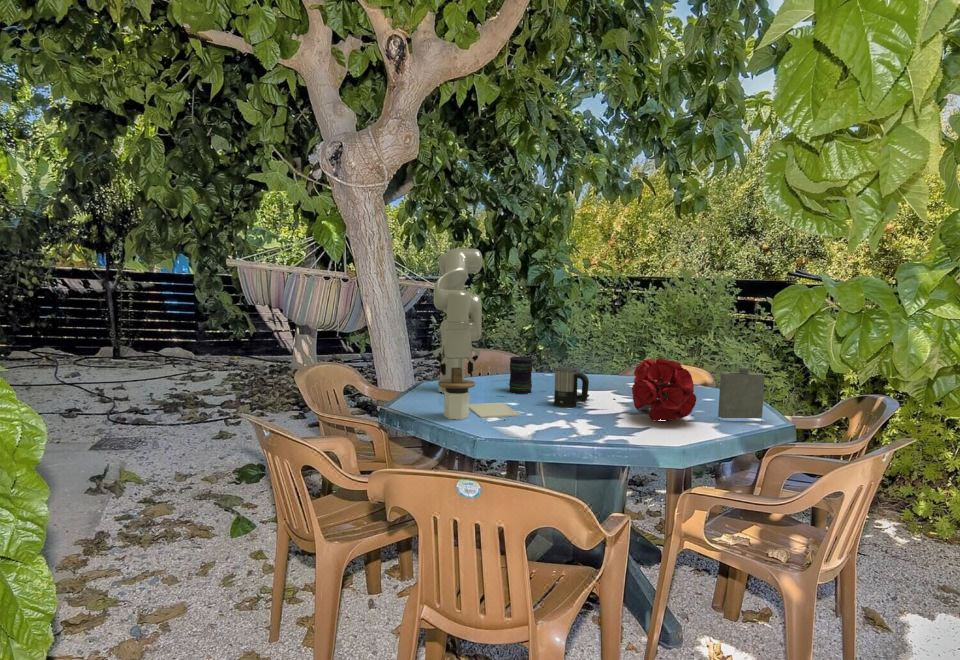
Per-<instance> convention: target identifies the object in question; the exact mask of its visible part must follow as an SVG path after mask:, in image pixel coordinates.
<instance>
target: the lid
mask: <svg viewBox="0 0 960 660" xmlns="http://www.w3.org/2000/svg"><path fill="white" fill-rule="evenodd" d="M437 383H438V384H437V385H438V386H439V388H440V387H443V388H451V389H465V388H468V389H470V388H474V387H475V386H476V383H475V381H473V380H469V379H465V378H464V379H462V369H461V368H451V379H446V380H442V379H441V380H439V381H438V382H437Z"/></svg>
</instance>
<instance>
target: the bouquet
mask: <svg viewBox="0 0 960 660" xmlns="http://www.w3.org/2000/svg"><path fill="white" fill-rule="evenodd" d="M633 374H634V378H633V384H632V387H631V393H632V400H633V406H634V408H635V409H636V410H642V409H643V410H642V411H648V410H649V413H648V416H649V418H650V420H652V421H653V420H660V419H661V420H667V421H668V420H669V419H673V420H676V419H678V420H680V419H681V420H682V419H684V418H687V417H688V416H689V415H691V413H692V412H693V410H694V408H695V406H696V403H697V395H696V394H695V392H694V390H695V385H694V380H693V377H692V374H691V373H690V371H689V370H687V369H686V368H684V367H683V366H682V364H681V363H680V362H677V361H673V360H667V359H663V358H662V357H658V358H656V360H655V359H654V358H647V359H644V360H642V361H641V362H640V363H639V364H638V365H637V366H636V367H635V369H634V371H633Z"/></svg>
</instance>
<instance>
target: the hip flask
mask: <svg viewBox="0 0 960 660" xmlns="http://www.w3.org/2000/svg"><path fill="white" fill-rule="evenodd" d="M749 371H750V367H748V366H738V371H729V372H725V371H724V372H720V379H719V381H720V383H719V396H718V397H719V398H718V412H717V413H718V414H717V418H718V417H721V418H762V419H763V407H764V395H765V394H764V393H765V381H766V380H765V379H766V374H765V373H762V372H761V373H760V372H759V373H758V372H757V373H756V372H751V373H749Z"/></svg>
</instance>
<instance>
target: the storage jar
mask: <svg viewBox="0 0 960 660" xmlns="http://www.w3.org/2000/svg"><path fill="white" fill-rule="evenodd" d="M509 359H510V361H509V371H510V374H509V375H510V377H509V384H508V386H509V391H508V393H510V392H511V393H510V394H513V393H515V394H514V395H529V394H528V393H530V394H532V386H533V385H532V383H533V382H532V381H533V380H532V372H533V357H531V356H530V357H529V356H511V357H509Z"/></svg>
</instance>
